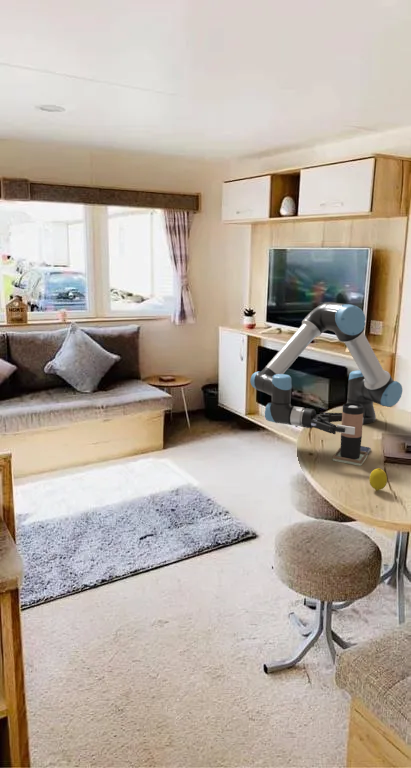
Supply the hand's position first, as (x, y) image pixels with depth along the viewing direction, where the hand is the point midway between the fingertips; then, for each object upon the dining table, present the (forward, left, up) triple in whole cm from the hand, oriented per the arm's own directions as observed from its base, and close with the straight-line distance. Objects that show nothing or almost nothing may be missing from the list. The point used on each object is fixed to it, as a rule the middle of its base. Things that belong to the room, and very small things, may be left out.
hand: (359, 425), depth 208 cm
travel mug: (0, -2, -13) cm, 13 cm away
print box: (0, -2, -13) cm, 14 cm away
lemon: (+24, +13, -14) cm, 31 cm away
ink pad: (-9, -2, -13) cm, 16 cm away
